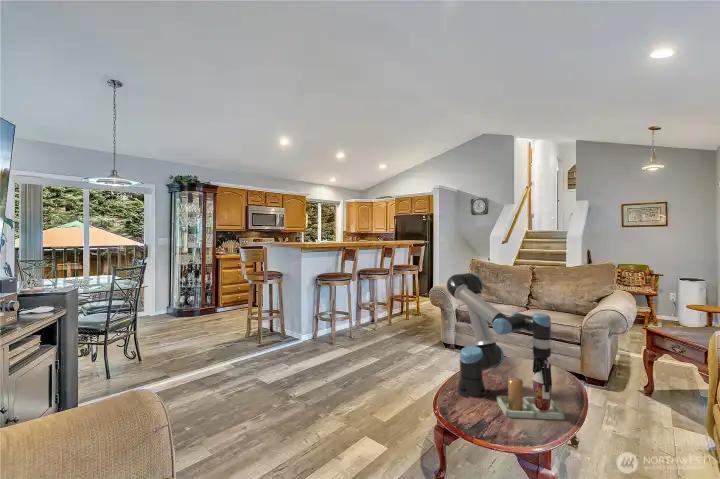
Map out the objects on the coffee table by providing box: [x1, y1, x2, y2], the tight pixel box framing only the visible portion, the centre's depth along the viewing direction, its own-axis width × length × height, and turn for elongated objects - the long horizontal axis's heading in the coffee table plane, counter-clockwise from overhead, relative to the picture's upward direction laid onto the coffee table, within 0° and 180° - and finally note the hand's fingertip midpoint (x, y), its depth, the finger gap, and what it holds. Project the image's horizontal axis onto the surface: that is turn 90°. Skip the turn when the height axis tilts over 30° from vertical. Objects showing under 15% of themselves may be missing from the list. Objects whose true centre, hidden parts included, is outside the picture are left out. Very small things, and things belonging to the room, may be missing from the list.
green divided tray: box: [496, 395, 566, 421], centre depth 162 cm, size 26×15×4 cm, turn 84°
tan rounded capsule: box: [507, 376, 524, 411], centre depth 163 cm, size 6×6×14 cm
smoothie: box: [531, 367, 553, 411], centre depth 161 cm, size 8×8×20 cm
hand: (541, 393), depth 162 cm, fingers closed on smoothie, 8 cm apart
